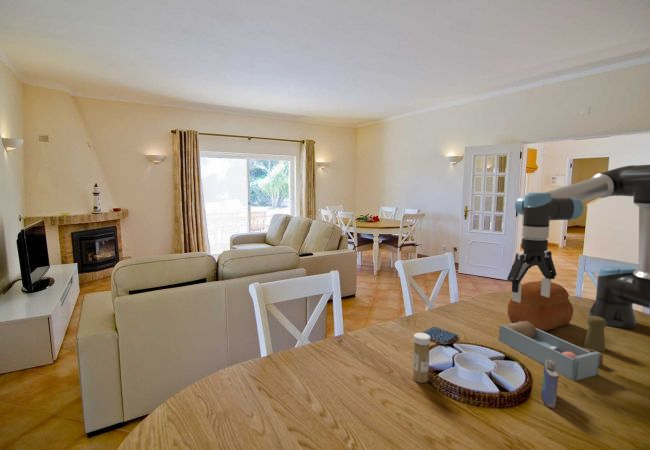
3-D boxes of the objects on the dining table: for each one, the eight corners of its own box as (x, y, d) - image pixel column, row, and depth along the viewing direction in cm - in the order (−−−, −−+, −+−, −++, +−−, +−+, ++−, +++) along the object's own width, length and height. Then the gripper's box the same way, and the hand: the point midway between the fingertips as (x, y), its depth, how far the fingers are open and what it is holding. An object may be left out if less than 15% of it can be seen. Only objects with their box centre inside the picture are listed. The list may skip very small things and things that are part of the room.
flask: (556, 410, 85) (559, 370, 84) (542, 406, 87) (546, 367, 85) (552, 390, 93) (555, 354, 92) (539, 387, 95) (542, 351, 93)
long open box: (519, 336, 126) (520, 317, 125) (597, 374, 101) (600, 351, 100) (498, 340, 123) (500, 320, 122) (574, 381, 98) (577, 356, 97)
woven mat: (445, 348, 118) (445, 343, 117) (419, 338, 126) (419, 333, 125) (460, 339, 124) (460, 334, 124) (434, 330, 132) (434, 325, 132)
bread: (575, 325, 136) (579, 285, 134) (544, 336, 127) (548, 293, 124) (532, 311, 152) (535, 275, 150) (502, 319, 142) (504, 281, 140)
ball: (584, 369, 102) (581, 352, 103) (573, 372, 100) (570, 354, 101) (568, 365, 107) (565, 348, 107) (557, 367, 105) (554, 351, 106)
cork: (609, 352, 115) (612, 321, 113) (589, 350, 116) (592, 319, 115) (598, 343, 121) (602, 314, 119) (579, 342, 122) (582, 313, 120)
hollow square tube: (590, 359, 110) (591, 349, 109) (602, 364, 107) (603, 354, 106) (583, 361, 109) (584, 351, 108) (595, 366, 106) (596, 356, 105)
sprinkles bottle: (428, 384, 96) (430, 340, 94) (411, 381, 97) (413, 337, 95) (428, 375, 100) (430, 333, 98) (412, 373, 101) (414, 331, 100)
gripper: (550, 234, 121) (546, 291, 124) (497, 239, 113) (494, 299, 115) (571, 237, 114) (567, 297, 117) (517, 242, 106) (513, 307, 108)
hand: (530, 298), depth 116 cm, fingers open, 13 cm apart
